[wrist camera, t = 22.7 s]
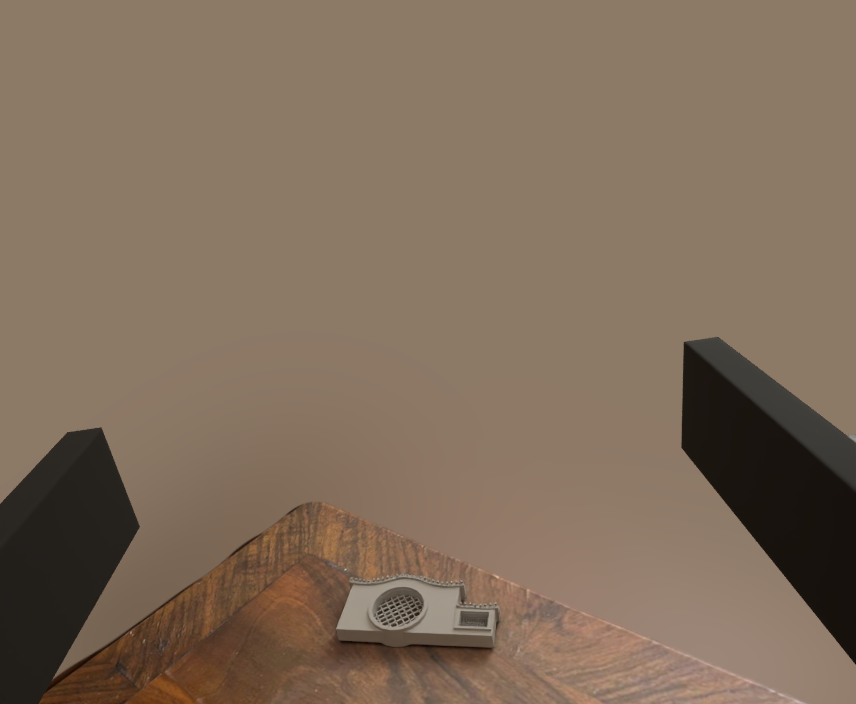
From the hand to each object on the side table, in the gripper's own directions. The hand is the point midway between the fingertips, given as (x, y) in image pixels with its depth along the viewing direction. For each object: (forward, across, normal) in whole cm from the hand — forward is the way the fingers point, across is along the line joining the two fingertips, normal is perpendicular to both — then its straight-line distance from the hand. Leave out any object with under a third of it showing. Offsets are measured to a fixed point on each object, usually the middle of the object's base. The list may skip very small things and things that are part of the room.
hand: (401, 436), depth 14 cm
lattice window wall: (+21, -3, -29) cm, 36 cm away
